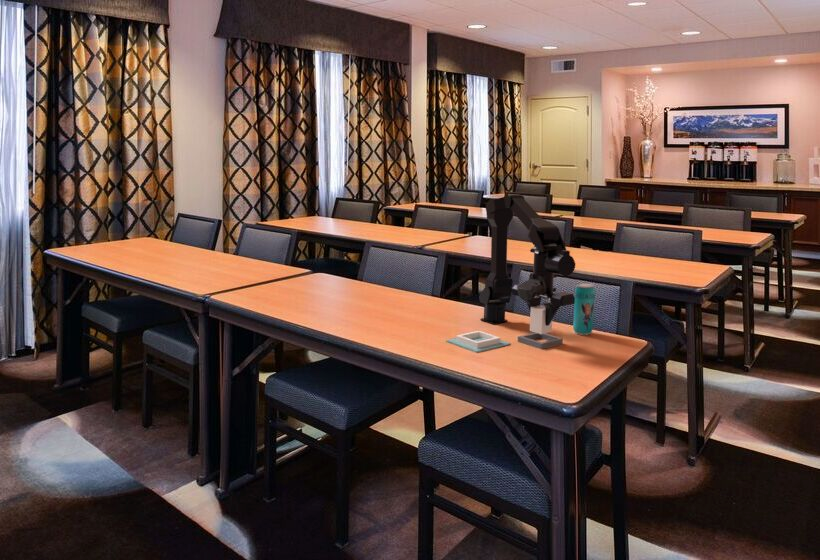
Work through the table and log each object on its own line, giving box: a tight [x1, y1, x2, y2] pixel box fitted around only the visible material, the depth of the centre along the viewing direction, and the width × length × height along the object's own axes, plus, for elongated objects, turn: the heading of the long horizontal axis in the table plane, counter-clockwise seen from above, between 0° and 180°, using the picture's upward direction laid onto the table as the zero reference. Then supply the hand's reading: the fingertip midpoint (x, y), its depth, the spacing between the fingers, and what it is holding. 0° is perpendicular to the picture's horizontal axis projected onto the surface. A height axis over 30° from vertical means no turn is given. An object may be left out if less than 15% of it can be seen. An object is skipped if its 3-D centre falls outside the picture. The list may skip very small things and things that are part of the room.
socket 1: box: [445, 330, 511, 354], centre depth 178 cm, size 13×13×2 cm
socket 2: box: [517, 332, 564, 350], centre depth 179 cm, size 9×9×2 cm
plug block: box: [529, 304, 553, 334], centre depth 178 cm, size 4×5×7 cm
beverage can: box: [572, 282, 596, 336], centre depth 188 cm, size 6×6×15 cm
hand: (541, 323), depth 178 cm, fingers closed on plug block, 4 cm apart
